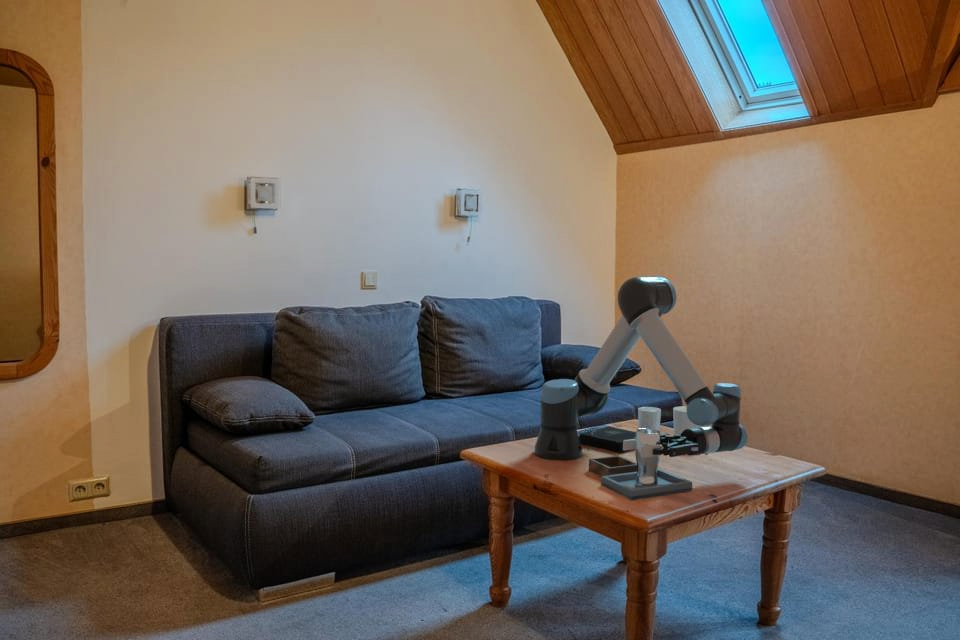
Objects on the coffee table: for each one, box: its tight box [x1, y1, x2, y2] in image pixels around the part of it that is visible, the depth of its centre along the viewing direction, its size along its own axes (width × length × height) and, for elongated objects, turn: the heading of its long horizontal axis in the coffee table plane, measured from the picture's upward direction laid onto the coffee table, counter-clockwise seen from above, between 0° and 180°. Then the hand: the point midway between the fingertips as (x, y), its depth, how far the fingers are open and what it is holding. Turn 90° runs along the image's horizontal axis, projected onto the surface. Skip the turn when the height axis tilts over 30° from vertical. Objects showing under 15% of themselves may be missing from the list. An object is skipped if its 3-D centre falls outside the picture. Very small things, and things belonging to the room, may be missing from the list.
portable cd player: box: [578, 426, 636, 454], centre depth 252 cm, size 16×17×4 cm
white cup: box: [637, 406, 662, 431], centre depth 263 cm, size 8×8×10 cm
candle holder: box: [672, 405, 702, 435], centre depth 254 cm, size 10×10×12 cm
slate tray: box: [600, 468, 693, 501], centre depth 204 cm, size 14×20×2 cm
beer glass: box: [634, 428, 662, 487], centre depth 203 cm, size 7×7×15 cm
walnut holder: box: [588, 455, 637, 477], centre depth 218 cm, size 11×11×4 cm
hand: (632, 448), depth 201 cm, fingers open, 7 cm apart
